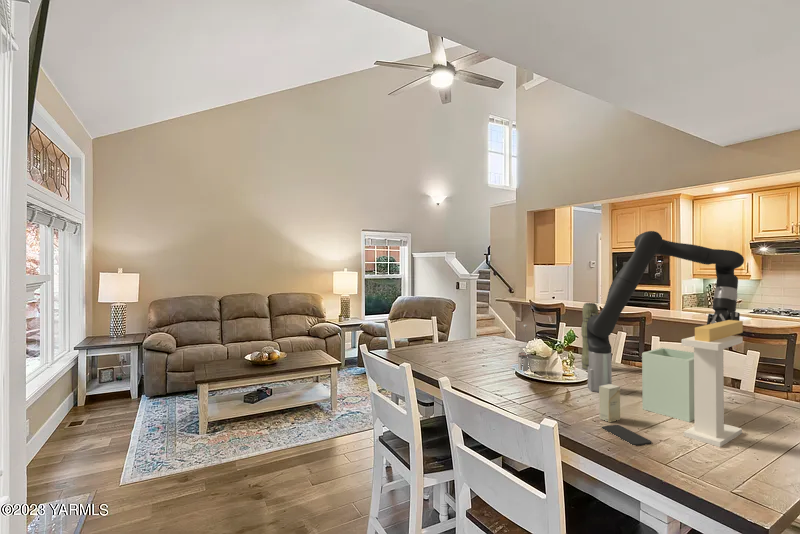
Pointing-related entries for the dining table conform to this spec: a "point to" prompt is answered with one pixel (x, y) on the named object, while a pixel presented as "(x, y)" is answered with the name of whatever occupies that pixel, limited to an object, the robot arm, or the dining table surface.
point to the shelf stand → (710, 391)
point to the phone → (627, 435)
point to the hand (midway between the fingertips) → (720, 338)
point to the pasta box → (718, 330)
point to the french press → (523, 356)
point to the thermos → (588, 312)
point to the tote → (668, 383)
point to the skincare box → (609, 402)
